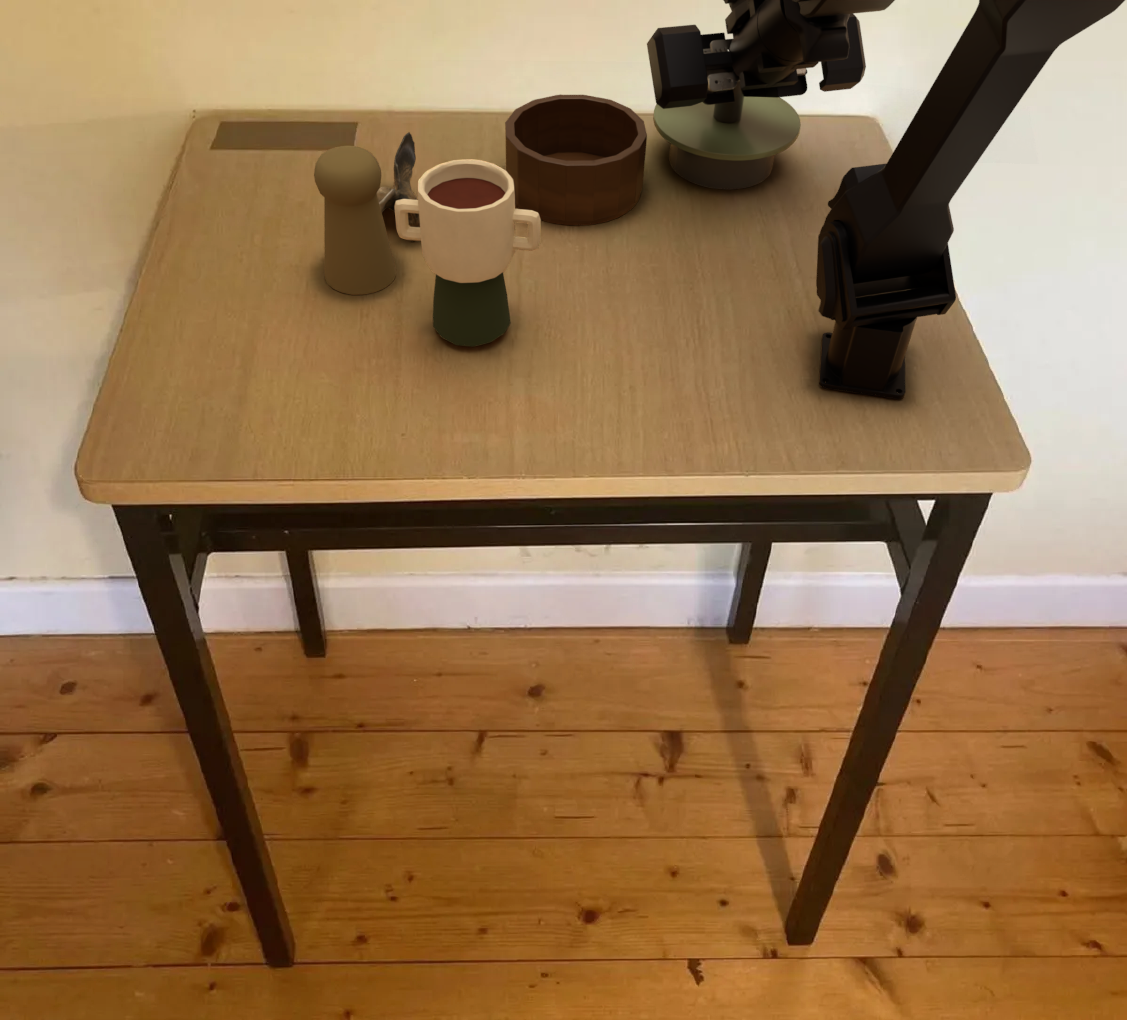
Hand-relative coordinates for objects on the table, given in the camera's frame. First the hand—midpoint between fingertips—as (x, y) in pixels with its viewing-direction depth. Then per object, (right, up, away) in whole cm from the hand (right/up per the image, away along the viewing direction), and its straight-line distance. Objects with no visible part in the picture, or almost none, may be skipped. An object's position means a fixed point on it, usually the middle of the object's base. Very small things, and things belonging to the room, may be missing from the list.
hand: (724, 92), depth 105 cm
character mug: (-23, -25, -14) cm, 36 cm away
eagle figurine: (-30, -13, -4) cm, 32 cm away
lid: (0, -3, +1) cm, 3 cm away
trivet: (0, -5, +4) cm, 7 cm away
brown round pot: (-14, -9, 0) cm, 17 cm away
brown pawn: (-32, -19, -10) cm, 39 cm away
